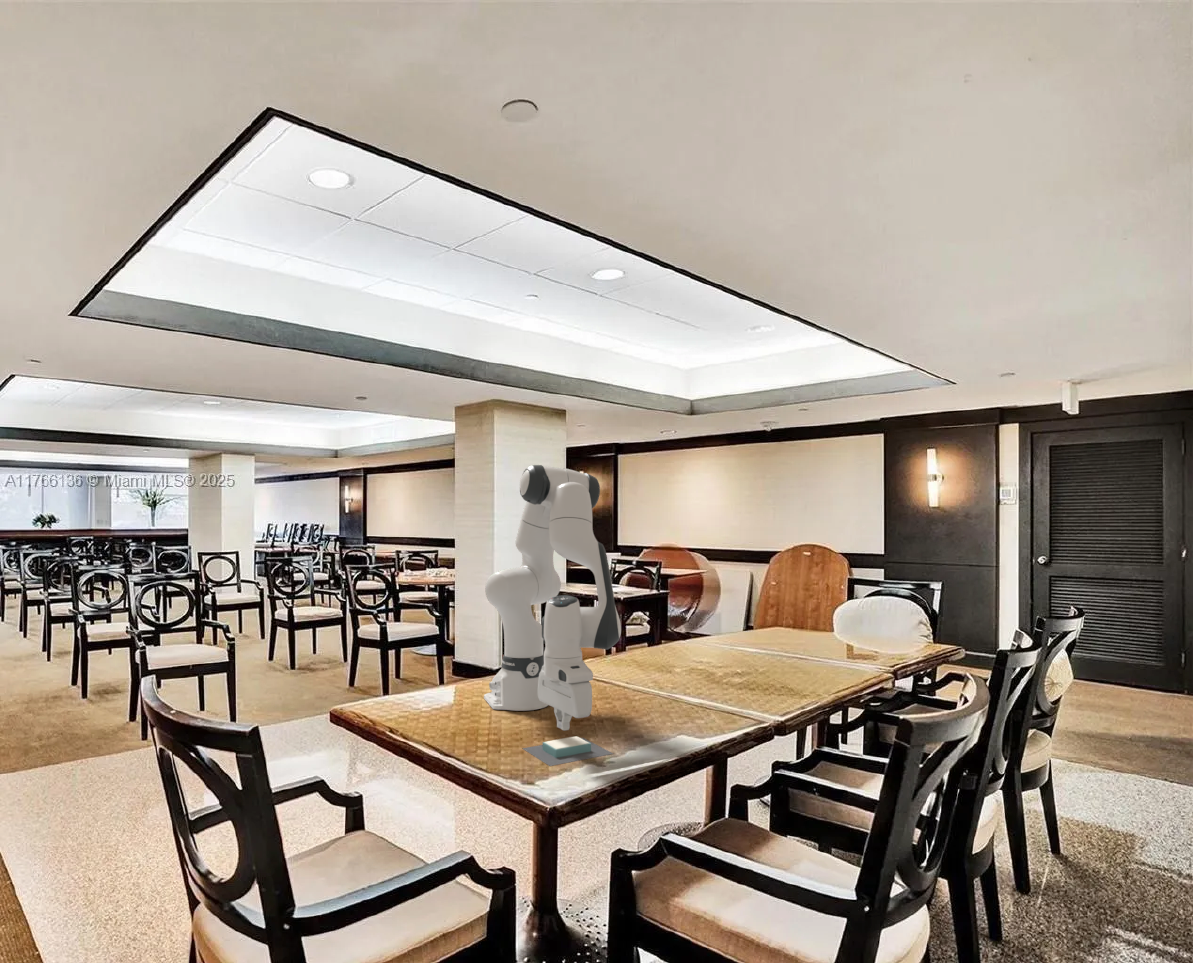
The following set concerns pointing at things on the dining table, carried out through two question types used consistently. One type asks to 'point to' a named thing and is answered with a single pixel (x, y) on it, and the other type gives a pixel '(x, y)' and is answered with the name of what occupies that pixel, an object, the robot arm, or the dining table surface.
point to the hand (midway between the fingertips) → (563, 728)
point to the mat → (551, 761)
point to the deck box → (566, 746)
